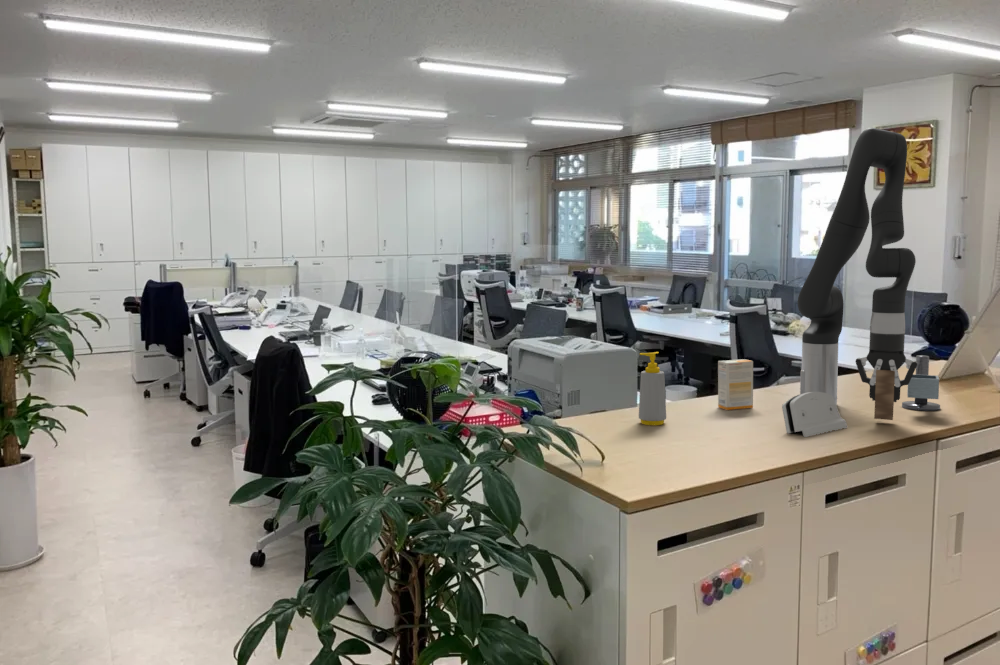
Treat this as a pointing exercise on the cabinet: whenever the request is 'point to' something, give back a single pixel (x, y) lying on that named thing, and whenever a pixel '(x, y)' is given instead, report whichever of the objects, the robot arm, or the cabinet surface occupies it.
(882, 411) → the rail post
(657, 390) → the soap bottle
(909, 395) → the cup bracket
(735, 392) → the supplement box
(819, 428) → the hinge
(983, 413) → the cabinet surface
